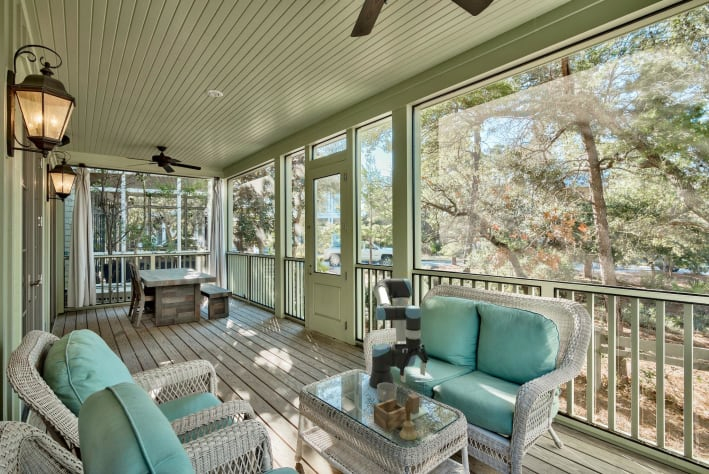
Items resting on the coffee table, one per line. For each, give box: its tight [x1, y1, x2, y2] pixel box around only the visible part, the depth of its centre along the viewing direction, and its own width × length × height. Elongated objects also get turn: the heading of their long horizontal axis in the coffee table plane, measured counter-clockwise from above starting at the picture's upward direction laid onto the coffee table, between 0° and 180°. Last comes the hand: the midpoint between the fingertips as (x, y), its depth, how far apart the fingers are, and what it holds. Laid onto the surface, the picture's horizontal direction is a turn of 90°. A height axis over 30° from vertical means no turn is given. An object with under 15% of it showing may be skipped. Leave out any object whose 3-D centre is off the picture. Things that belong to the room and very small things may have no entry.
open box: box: [373, 397, 412, 432], centre depth 167 cm, size 14×11×8 cm
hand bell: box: [398, 399, 418, 441], centre depth 156 cm, size 8×8×16 cm
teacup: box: [376, 382, 398, 403], centre depth 186 cm, size 14×11×8 cm
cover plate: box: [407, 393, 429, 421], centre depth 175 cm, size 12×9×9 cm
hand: (413, 378), depth 175 cm, fingers open, 13 cm apart
